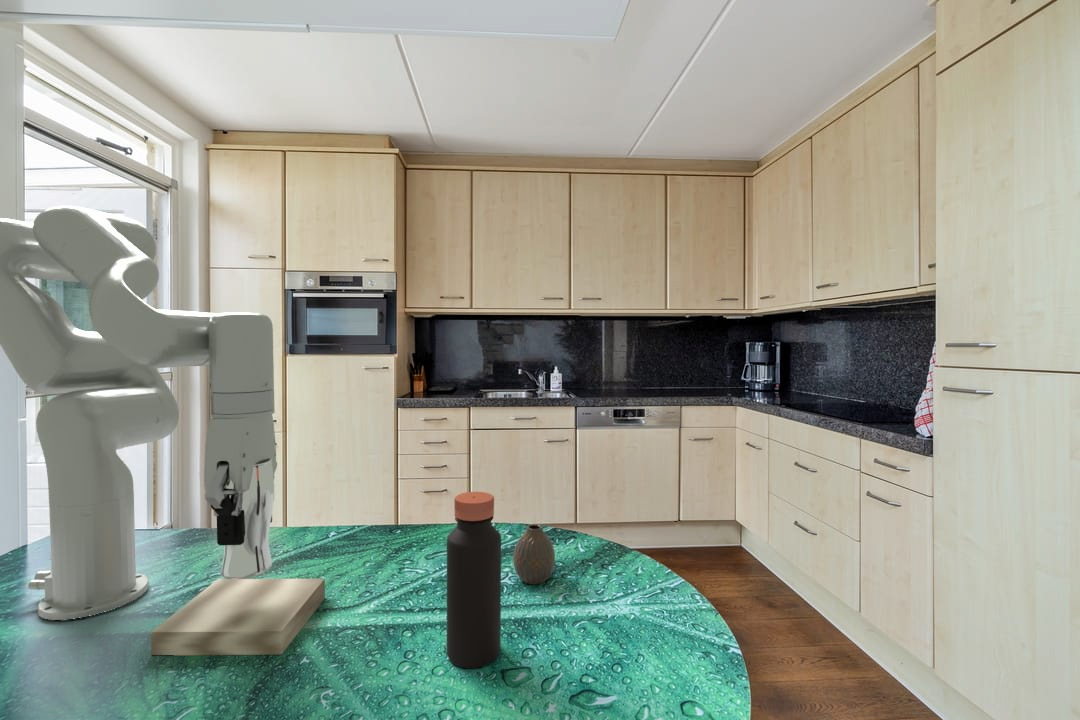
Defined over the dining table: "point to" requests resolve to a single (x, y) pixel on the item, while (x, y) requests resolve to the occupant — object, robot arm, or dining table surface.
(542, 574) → the vase
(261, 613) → the plate
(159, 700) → the dining table surface
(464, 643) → the bottle
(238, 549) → the beer glass
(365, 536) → the dining table surface
